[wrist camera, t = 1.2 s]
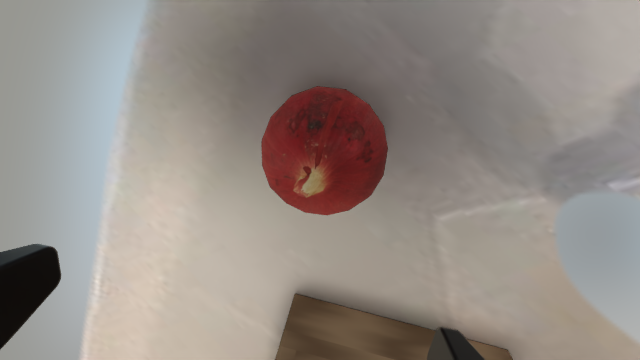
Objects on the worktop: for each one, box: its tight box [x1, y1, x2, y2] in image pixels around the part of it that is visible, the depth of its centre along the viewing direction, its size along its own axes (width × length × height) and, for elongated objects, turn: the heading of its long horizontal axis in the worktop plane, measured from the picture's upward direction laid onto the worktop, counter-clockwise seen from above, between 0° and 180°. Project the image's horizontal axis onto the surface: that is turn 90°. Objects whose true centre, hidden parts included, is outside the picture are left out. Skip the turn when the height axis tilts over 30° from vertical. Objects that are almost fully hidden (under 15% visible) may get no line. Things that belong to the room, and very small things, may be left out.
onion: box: [262, 86, 388, 215], centre depth 15 cm, size 6×6×8 cm
